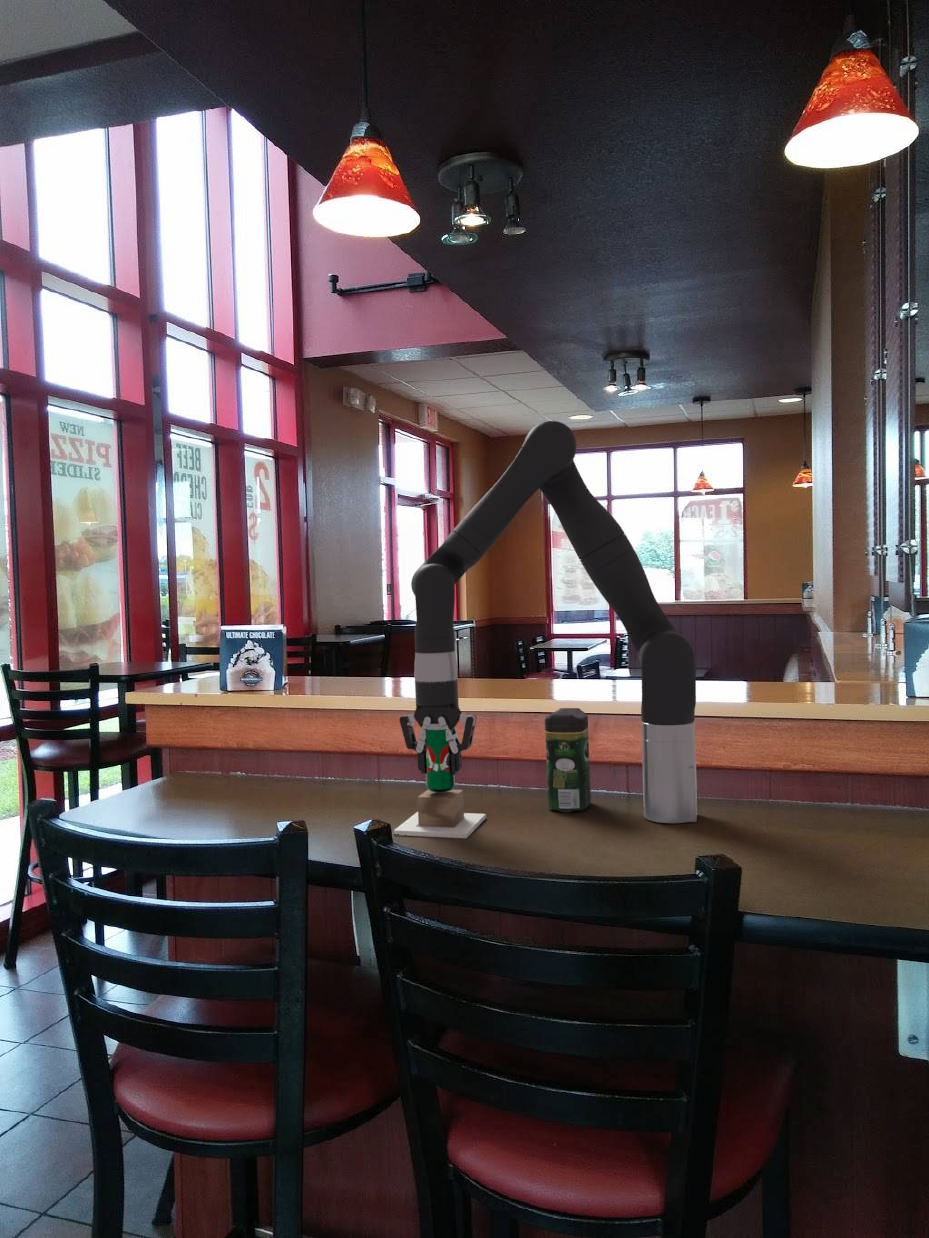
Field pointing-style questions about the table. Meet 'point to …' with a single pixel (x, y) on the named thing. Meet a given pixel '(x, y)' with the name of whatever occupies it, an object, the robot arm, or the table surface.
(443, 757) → the soda can
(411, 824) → the board
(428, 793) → the walnut block
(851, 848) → the table surface
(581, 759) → the coffee jar
